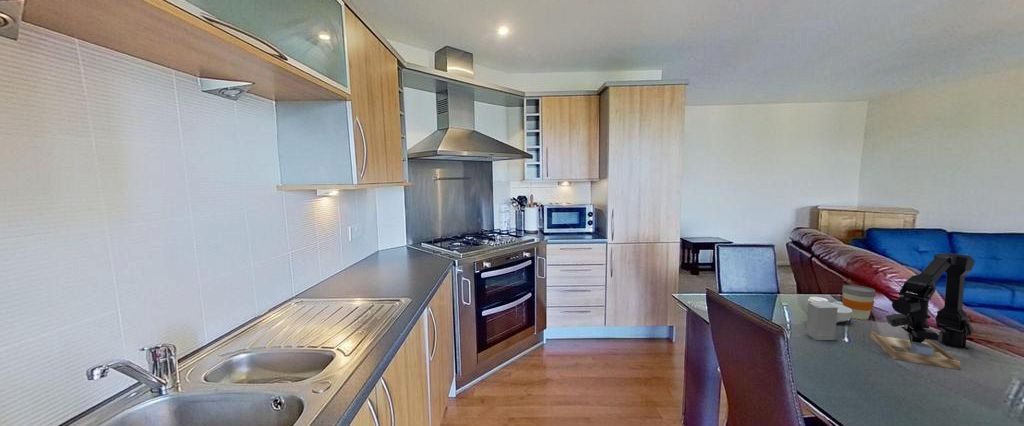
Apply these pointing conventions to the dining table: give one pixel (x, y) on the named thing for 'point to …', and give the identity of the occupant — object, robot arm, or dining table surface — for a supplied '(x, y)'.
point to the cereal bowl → (843, 312)
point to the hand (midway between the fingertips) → (913, 347)
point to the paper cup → (817, 299)
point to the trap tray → (904, 345)
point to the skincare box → (821, 320)
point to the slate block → (921, 349)
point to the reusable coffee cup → (858, 300)
